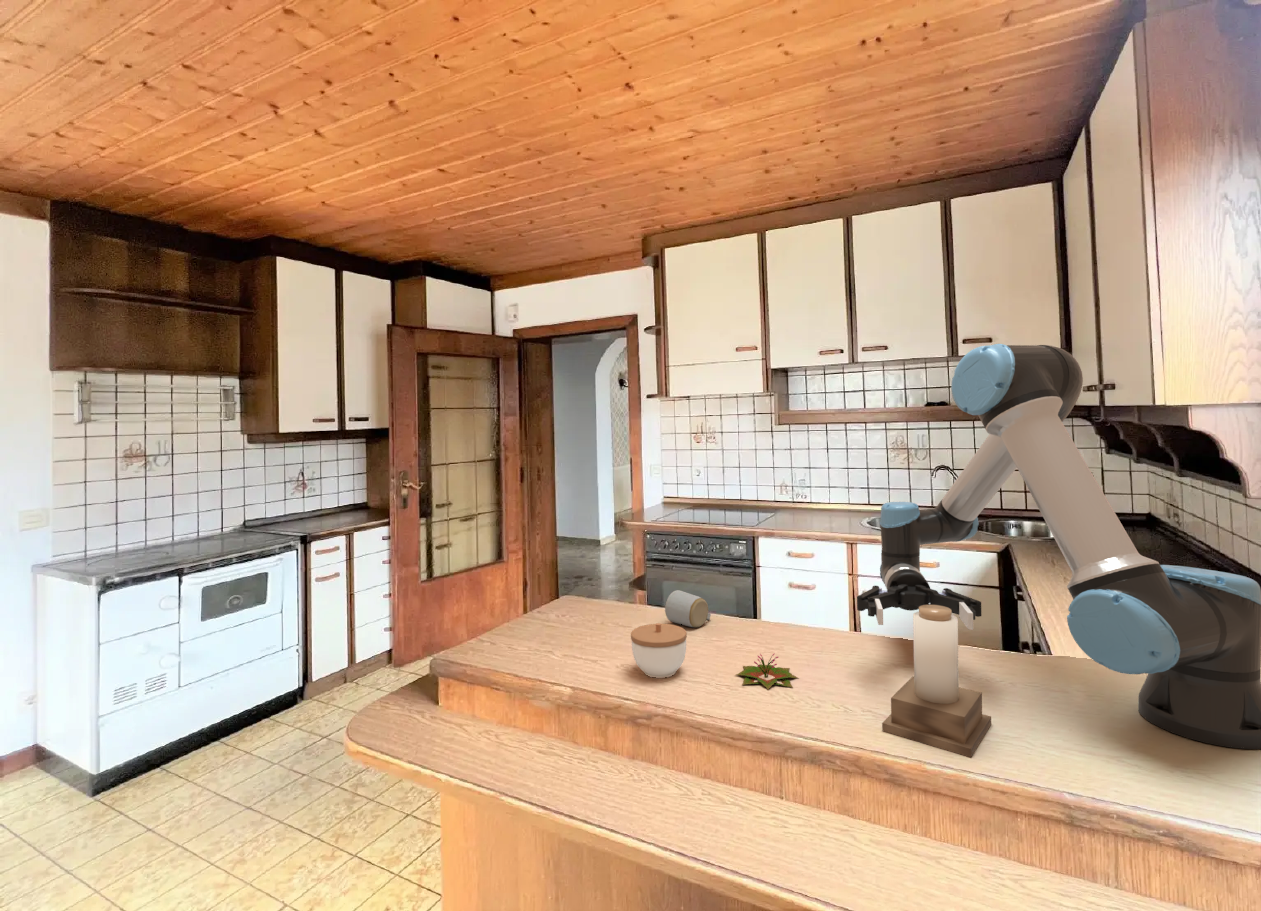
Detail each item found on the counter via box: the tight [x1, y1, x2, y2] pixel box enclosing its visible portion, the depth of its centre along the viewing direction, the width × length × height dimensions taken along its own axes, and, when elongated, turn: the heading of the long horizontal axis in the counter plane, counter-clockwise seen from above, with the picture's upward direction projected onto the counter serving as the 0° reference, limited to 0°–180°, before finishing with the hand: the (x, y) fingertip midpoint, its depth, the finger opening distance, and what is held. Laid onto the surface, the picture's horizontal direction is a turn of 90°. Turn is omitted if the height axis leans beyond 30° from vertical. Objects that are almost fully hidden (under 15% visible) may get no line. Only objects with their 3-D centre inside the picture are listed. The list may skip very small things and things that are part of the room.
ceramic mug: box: [664, 589, 712, 629], centre depth 146 cm, size 11×8×8 cm
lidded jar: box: [630, 622, 688, 679], centre depth 117 cm, size 11×11×9 cm
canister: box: [912, 605, 960, 704], centre depth 92 cm, size 6×6×13 cm
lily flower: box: [735, 653, 798, 691], centre depth 113 cm, size 12×12×5 cm
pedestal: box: [881, 675, 992, 758], centre depth 92 cm, size 12×12×5 cm
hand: (924, 619), depth 101 cm, fingers open, 13 cm apart
